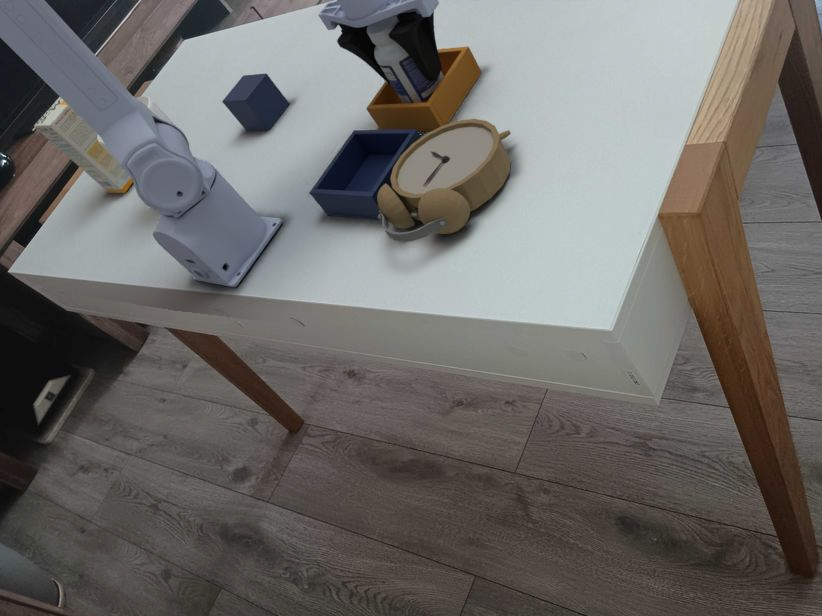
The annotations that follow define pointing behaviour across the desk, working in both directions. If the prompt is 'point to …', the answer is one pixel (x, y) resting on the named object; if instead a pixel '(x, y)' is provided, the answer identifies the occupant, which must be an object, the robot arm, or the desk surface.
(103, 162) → the supplement box
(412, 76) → the pill bottle
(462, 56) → the amber bin
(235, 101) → the navy block
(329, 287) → the desk surface
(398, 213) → the alarm clock
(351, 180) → the navy bin
